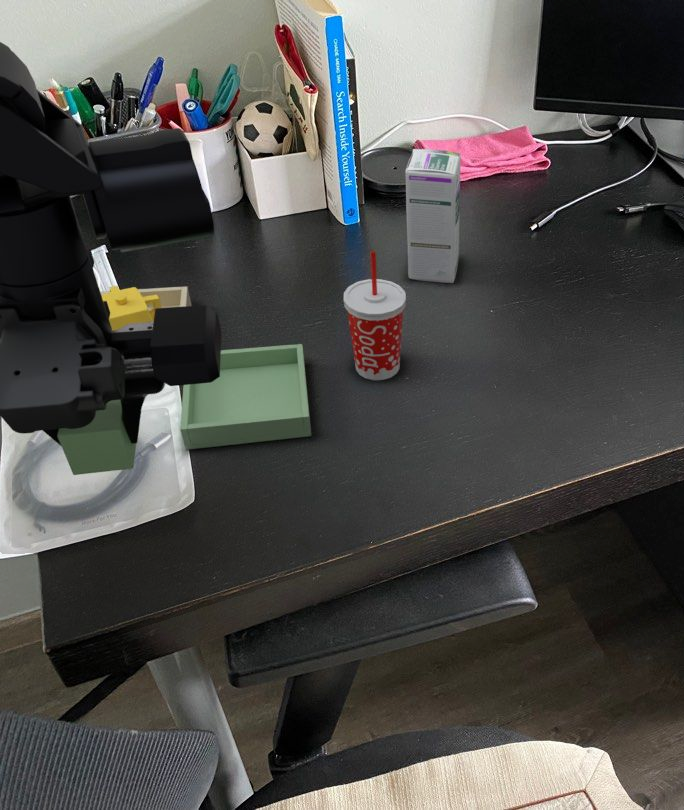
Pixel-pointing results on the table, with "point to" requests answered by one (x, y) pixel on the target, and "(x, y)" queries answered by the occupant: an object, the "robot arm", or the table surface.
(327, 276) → the table surface
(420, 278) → the syrup box
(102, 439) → the green cube
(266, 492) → the table surface
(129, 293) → the yellow linking cube
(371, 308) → the beverage cup
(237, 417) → the green tray
